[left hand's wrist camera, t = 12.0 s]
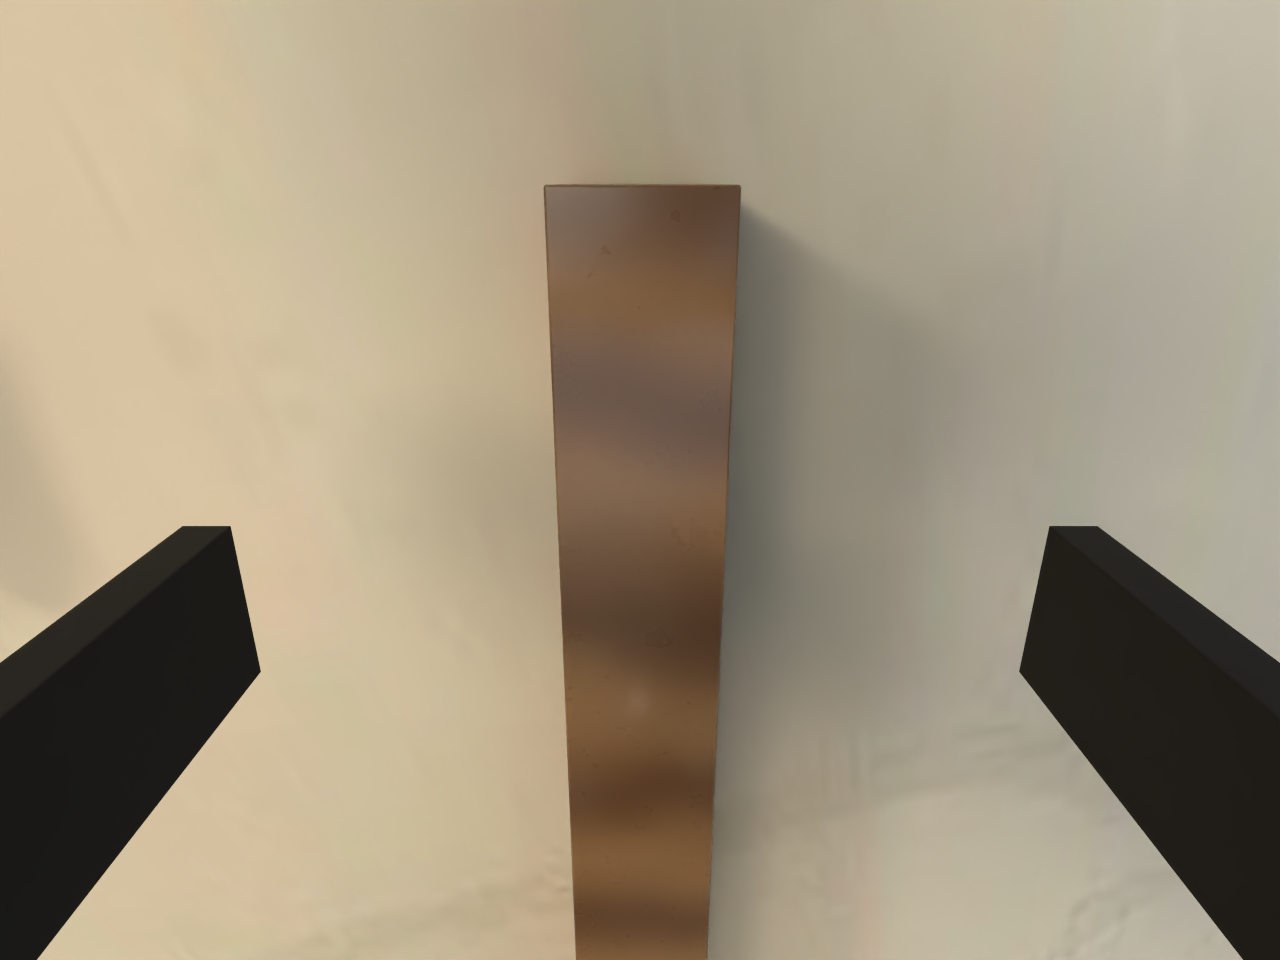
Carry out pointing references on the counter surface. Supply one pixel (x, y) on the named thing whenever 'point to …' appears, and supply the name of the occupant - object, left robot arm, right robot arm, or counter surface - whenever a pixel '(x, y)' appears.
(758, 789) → the counter surface
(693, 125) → the counter surface
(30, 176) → the counter surface
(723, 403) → the bar
